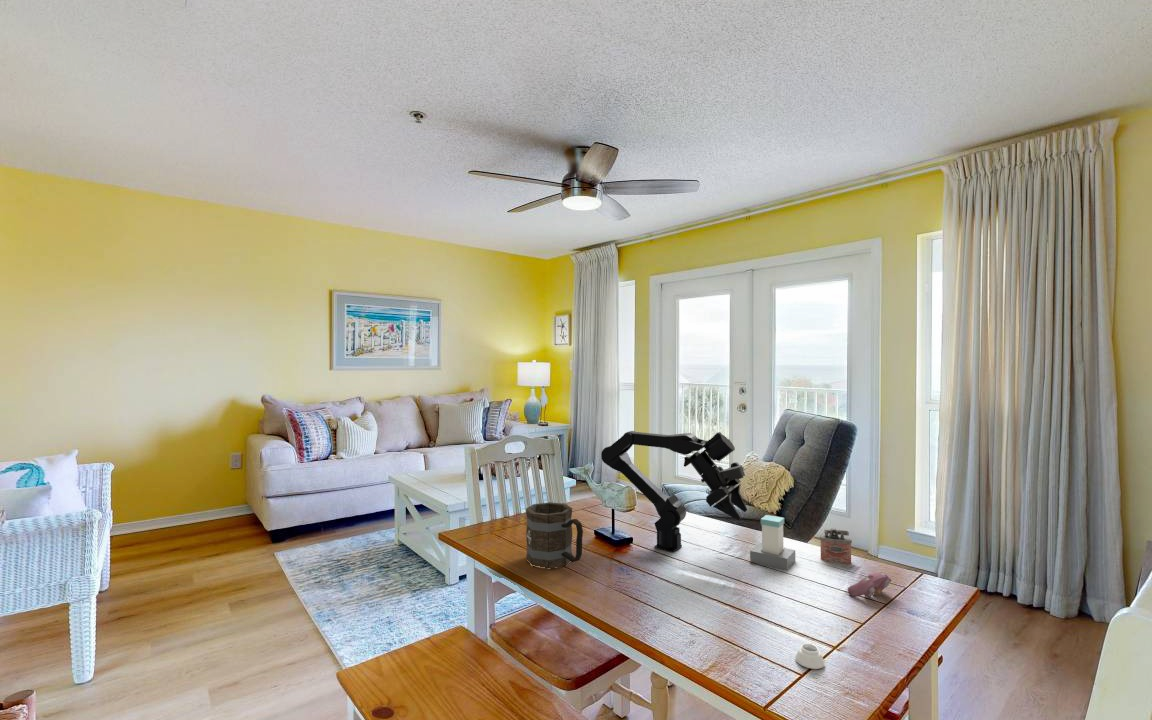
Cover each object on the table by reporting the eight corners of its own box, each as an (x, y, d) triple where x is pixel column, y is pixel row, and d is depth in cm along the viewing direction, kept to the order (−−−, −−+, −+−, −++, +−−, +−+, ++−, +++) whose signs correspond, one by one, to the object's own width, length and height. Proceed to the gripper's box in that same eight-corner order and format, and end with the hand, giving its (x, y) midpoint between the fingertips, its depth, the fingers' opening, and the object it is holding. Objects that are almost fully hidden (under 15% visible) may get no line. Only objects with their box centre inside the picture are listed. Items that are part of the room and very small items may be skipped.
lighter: (820, 564, 146) (820, 529, 146) (819, 560, 150) (819, 525, 150) (852, 568, 143) (852, 532, 143) (851, 564, 147) (850, 528, 147)
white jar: (826, 672, 96) (821, 657, 101) (826, 656, 96) (821, 642, 101) (797, 668, 97) (793, 654, 102) (797, 653, 97) (793, 639, 102)
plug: (760, 561, 146) (760, 518, 146) (766, 556, 150) (766, 514, 150) (779, 566, 143) (779, 522, 143) (784, 560, 147) (784, 517, 147)
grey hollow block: (750, 563, 146) (750, 550, 146) (759, 554, 152) (759, 542, 152) (787, 571, 140) (787, 558, 140) (795, 562, 146) (795, 550, 146)
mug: (516, 560, 151) (515, 508, 151) (550, 548, 160) (549, 499, 160) (564, 580, 137) (563, 523, 137) (598, 565, 147) (597, 512, 147)
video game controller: (860, 607, 124) (872, 586, 122) (844, 592, 128) (856, 571, 125) (885, 598, 129) (898, 577, 126) (869, 583, 133) (881, 563, 130)
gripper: (721, 459, 143) (759, 508, 139) (736, 449, 160) (770, 492, 155) (690, 482, 148) (726, 530, 143) (708, 470, 164) (741, 512, 159)
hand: (742, 515), depth 150 cm, fingers open, 9 cm apart
